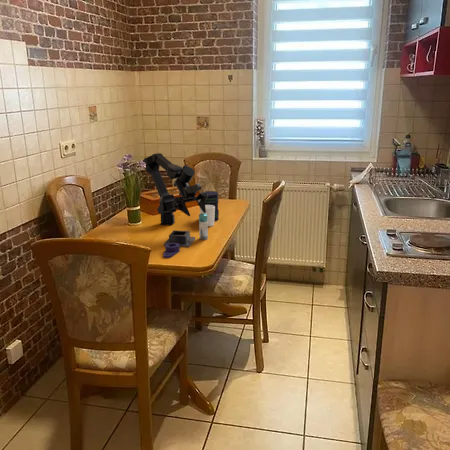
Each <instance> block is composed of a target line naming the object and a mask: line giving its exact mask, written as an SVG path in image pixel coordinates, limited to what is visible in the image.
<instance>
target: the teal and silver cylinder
mask: <svg viewBox="0 0 450 450" xmlns="http://www.w3.org/2000/svg"><path fill="white" fill-rule="evenodd" d="M198 227H199V228H198V231H199V240H200V239H201V241H206V240H208V239H209V228H208V227H209V226H208V221H207V214H200V213H199V214H198Z"/></svg>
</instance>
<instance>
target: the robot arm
mask: <svg viewBox="0 0 450 450" xmlns="http://www.w3.org/2000/svg"><path fill="white" fill-rule="evenodd" d="M142 161H143V162H145V163H146V168H144V170H145V171H146V172H147V173H148V174H149V175H150V176H151V179H152V182H153V184H154V186H155V188H156V190H157V193H158V195H159V201H158V202H159V203H158V204H159V206H158V207H157V209H156V210H157V213H158V214H160V224H159V225H161V226H172V225H173V224H174V223H175V221H176V219H175V214H174V213H177V210H179V211H180V212H181V213H184V215H186V216H188V217H190V216H191V214H190V210H189V209H188V206H187V205H186V203H191V202H195V201H196V203H197V205H198V207H199V209H200V208H201V209H202V211H203V212H204V213H205V212H206V209H205V200H206V199H207V197H208V194H207V193H206V192H205V191H202V192H203V193H201V192H200V191H201V190H202V186H201V183H199V182H198V183H195V184H193V185H190V184H189V183H190V182H191V181H192V179H193V177H194V175H195V170H194V169H193V168H192V167H190V166H188V165H187V164H186V165H185V164H184V165H183V167H182V166H180V165H178V164H174V163H172V161H170V160H169V159H167V158H166V156H164V155H163V153H161V152H158V153H157V152H156V153H153V154H152V155H150V156H147V157H144V158H143V160H142ZM160 167H161V168H162V169H163V170H164V171H166V175H167V176H168V177H169V179H170V180H173V181H174V182H173V187H176V188H177V190H178V191H179V193H178V196H176V197H175V196H174V194H172V193H171V194H170V192H169V191H168V187H167V186H166V184H165V181H164V179H163V176H162V174H161V172H160ZM198 192H199V193H198ZM197 193H198V195H197ZM196 195H197V196H196Z"/></svg>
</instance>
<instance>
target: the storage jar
mask: <svg viewBox="0 0 450 450" xmlns="http://www.w3.org/2000/svg"><path fill="white" fill-rule="evenodd" d="M203 192H206V193H207V194H208V197H207V199H206V200H205V205H214V206H215V219H214V223H215V222H217V221H219V215H220V214H219V212H220V211H219V192H218V191H212V190H207V191H205V190H204V191H201V192H200V193H203Z"/></svg>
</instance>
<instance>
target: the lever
mask: <svg viewBox="0 0 450 450" xmlns="http://www.w3.org/2000/svg"><path fill="white" fill-rule="evenodd" d="M164 248H165V250H164V252H163V254H162V255H163V256H162V258H164V259H171V258H173V257H174V256H176V255H177V254H178V253H180V252H181V251H180V249H181V248H180V246H179V244H178V243H168V244H166V245H165V246H164Z"/></svg>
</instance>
